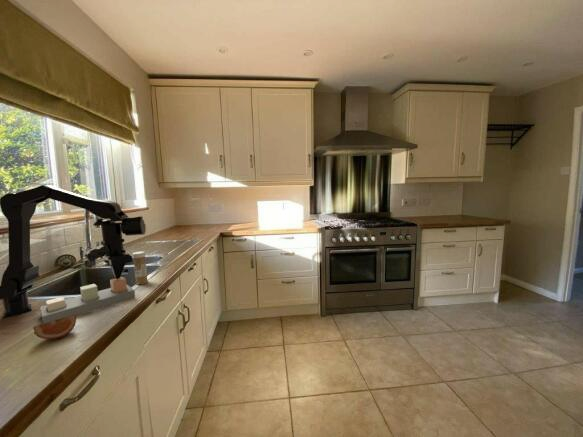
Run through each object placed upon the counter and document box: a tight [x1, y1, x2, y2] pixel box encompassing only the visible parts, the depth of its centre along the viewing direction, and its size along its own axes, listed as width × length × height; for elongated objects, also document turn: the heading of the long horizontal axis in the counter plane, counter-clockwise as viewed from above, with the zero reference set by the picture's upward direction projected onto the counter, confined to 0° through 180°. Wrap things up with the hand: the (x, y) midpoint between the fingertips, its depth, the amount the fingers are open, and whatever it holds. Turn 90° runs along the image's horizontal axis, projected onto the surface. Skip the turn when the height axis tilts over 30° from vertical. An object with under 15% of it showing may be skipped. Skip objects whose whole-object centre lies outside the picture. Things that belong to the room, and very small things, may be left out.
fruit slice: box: [32, 314, 77, 340], centre depth 67 cm, size 8×7×5 cm
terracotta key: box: [109, 276, 128, 293], centre depth 91 cm, size 4×4×5 cm
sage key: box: [79, 283, 99, 302], centre depth 85 cm, size 4×4×5 cm
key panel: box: [39, 284, 136, 324], centre depth 86 cm, size 10×24×3 cm, turn 138°
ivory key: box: [45, 296, 66, 312], centre depth 79 cm, size 4×4×5 cm
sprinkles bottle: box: [132, 251, 148, 285], centre depth 106 cm, size 5×5×13 cm
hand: (117, 278), depth 91 cm, fingers closed
